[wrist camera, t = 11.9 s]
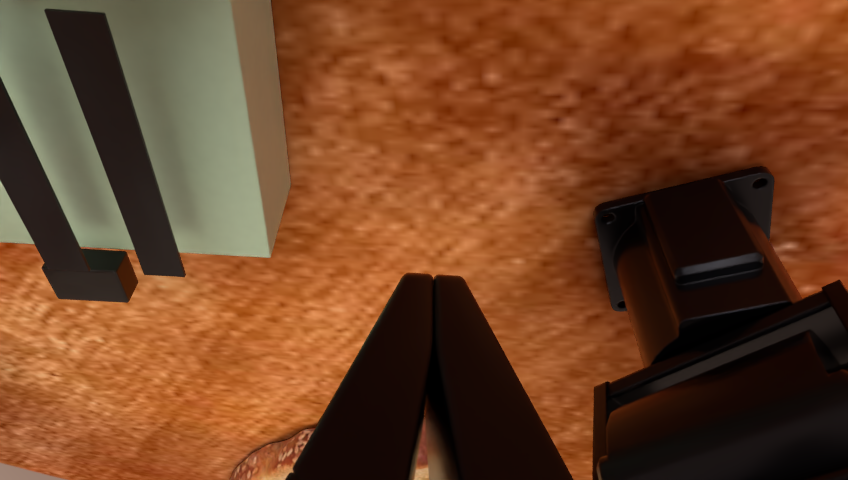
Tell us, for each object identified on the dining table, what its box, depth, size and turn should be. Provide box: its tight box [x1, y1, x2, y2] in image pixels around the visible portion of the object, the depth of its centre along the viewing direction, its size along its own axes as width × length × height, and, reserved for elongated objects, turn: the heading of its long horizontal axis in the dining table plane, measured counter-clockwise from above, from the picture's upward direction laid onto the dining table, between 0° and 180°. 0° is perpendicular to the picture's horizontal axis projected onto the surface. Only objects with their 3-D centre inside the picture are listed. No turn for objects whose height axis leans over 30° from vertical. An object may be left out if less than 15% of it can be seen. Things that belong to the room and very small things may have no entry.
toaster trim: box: [0, 8, 186, 303], centre depth 16 cm, size 13×8×2 cm, turn 176°
